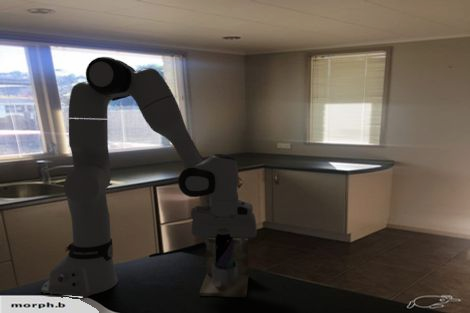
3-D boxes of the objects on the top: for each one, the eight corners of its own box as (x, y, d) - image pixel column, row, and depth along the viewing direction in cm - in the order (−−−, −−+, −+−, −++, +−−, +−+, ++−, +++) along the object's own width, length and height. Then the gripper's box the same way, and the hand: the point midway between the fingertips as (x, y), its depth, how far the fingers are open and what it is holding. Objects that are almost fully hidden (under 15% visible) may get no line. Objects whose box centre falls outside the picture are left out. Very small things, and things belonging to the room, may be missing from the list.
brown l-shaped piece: (199, 295, 105) (198, 253, 104) (207, 275, 119) (206, 237, 118) (246, 297, 104) (246, 254, 103) (248, 276, 118) (248, 238, 117)
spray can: (213, 284, 110) (212, 222, 108) (220, 277, 115) (219, 217, 113) (229, 287, 108) (228, 223, 106) (236, 280, 113) (235, 219, 111)
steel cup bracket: (210, 288, 108) (210, 269, 107) (215, 273, 118) (215, 256, 117) (237, 288, 107) (236, 269, 107) (239, 274, 117) (239, 257, 117)
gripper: (188, 208, 107) (189, 252, 108) (256, 209, 105) (256, 254, 106) (193, 203, 113) (193, 245, 114) (256, 204, 111) (256, 247, 113)
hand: (224, 249), depth 110 cm, fingers open, 8 cm apart
